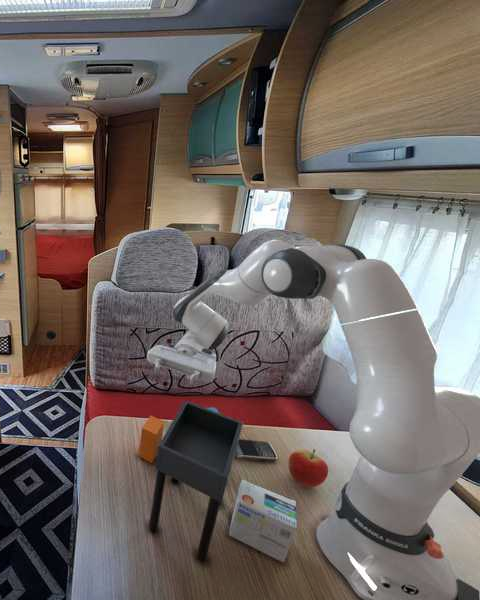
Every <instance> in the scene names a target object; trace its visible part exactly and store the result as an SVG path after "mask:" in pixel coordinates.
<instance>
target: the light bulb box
mask: <svg viewBox="0 0 480 600" xmlns="http://www.w3.org/2000/svg"><path fill="white" fill-rule="evenodd" d="M237 491H238V492H237V496H236V498H235V499H236V500H235V504H234V507H233V511H232V516H231V522H230V528H229V531H228V532H229V533H228V536H229V537H231V538H234V539H235V540H237V541H240V542H241V543H244V544H245V545H247V546H250V547H251V548H253V549H255V550H258V551H259V552H261V553H263V554H265V555H267V556H269V557H271V558H273V559H275V560H277V561H279V562H281V563H282V564H283V563H285V562H286V561H285V560H286V559H287V555H288V552H289V549H290V547H291V545H292V542H293V539H294V536H295V534H296V531H297V527H298V526H297V524H298V523H297V501H296V500H294V499H293V498H289V497H286V496H284V495H281V494H279V493H276V492H275V491H274V492H273V491H271V490H269V489H266V488H264V487H261V486H259V485H257V484H254V483H253V482H250V481H247V480H245V479H242V478H241V480H240V484H239V488H238V490H237Z"/></svg>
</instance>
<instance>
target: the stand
mask: <svg viewBox="0 0 480 600" xmlns="http://www.w3.org/2000/svg"><path fill="white" fill-rule="evenodd" d="M166 476H167V475H166V474H164V473H162V472H160V471H158V470H156V477H155V483H154V489H153V490H154V491H153V496H152V505H151V511H150V518H149V525H148V530H150V531H151V532H152V533H156V532H157V531H158V530H159V529H158V528H159V521H160V516H161V509H162V503H163V496H164V491H165V483H166V478H167V477H166ZM170 478H171V479H170V481H171V483H172V484H174V485H177V484H179V482H180V481H178V480H176V479H174V478H172V477H170ZM226 488H227V487H226ZM226 488H225V490H226ZM224 496H225V494H224V495H223V497H224ZM223 501H224V498H223V499H222V502H219V501H217V500H215V499H213V498H211V497H209V501H208V504H207V509H206V513H205V517H204V523H203V526H202V531H201V535H200V539H199V544H198V549H197V553H196V558H197V560H198V561H199V562H200V563H205V562H206V561H207V558H208V554H209V549H210V545H211V542H212V538H213V533H214V530H215V525H216V521H217V517H218V515H219V514H218V513H219V509H220V507H221V506H222V504H223Z"/></svg>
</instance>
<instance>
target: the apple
mask: <svg viewBox="0 0 480 600" xmlns="http://www.w3.org/2000/svg"><path fill="white" fill-rule="evenodd" d="M312 450H313V452H312V451H309V450H307V449H306V450H305V449H296V450H294V451H292V453H290V456H289V459H288V471H289V474H290V476H291V477H292V479H293V480H294V482H296V483H297V484H299V485H301V486H303V487H306V488H315V487H318V486H320V485H321V484H324V482H325V481H326V480H327V478H328V475H329V466H328V464H327V462H326V461H325V460H324V459H323V458H321V457H320V456H318V455H317V454H315V452H316V450H315V448H313V449H312Z"/></svg>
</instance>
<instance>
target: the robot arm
mask: <svg viewBox="0 0 480 600" xmlns="http://www.w3.org/2000/svg"><path fill="white" fill-rule="evenodd" d="M213 295H214V296H217V297H218V296H219V297H222V298H225V299H227V300H230V301H232V302H234V303H236V304H241V305H246V306H253V305H259V304H261V303H263V302H265V301H267V300H268V299H269V298H271V297H272V296H275V297H278V298H284V299H289V300H290V299H292V300H299V299H300V300H313V299H315V298H316V297H317V298H318V297H322V298H324V299H326V300H328V301H329V302H330V304H331V305H332V306H333V308H334V310H335V313H336V316H337V318H338V321H339V325H340V327H341V329H342V332H343V335H344V339H345V340H346V343H347V346H348V349H349V351H350V355H351V357H352V361H353V365H354V371H355V376H356V377H355V378H356V406H355V407H356V408H355V412H354V415H353V416H352V419H351V420H350V423H349V429H348V430H349V437H350V441H351V442H352V444H353V446H354V447H355V450H356V451H357V452H358V453H359V454H360V456H359V458H358V460H357V463H356V464H355V467H354V469H353V472H352V473H351V476H350V478H349V481H347V482H346V483H345V484H344V485H343V487H342V489H341V490H340V491H339V494H338V496H337V497H336V500H335V506H334V509H333V510H332V512H330V514H329V515H328V516H327V517H326V518H325V519H324V520H322V521H321V522H320V523H318V524H317V527H316V539H317V542H318V545H319V547H320V549H321V551H322V552H323V554H324V555H325V557H326V558H327V560H328V561H329V562H330V563H331V564H332V566H334V567H335V569H336V570H337V571H338V572H339V573H340V574H341V575H342V576H343V577H344V578H345V579H346V580H347V582H348V584H349V585H350V587H351V588H352V590H353V591H354V593H355V594H356V595H357V596H358V597H359V598H360V599H362V600H480V590H479V589H477V588H475V587H474V586H472V585H470V584H469V583H468V582H467V583H466V582H465V581H464V580H462V579H460V578H457V577H456V574H455V572H454V570H453V567H452V565H451V563H450V561H449V559H448V558H447V556H446V554H445V552H443V551H442V549H441V548H442V546H441V545H440V544H439V542H436V541H434V538H435V533H434V530H433V528H432V527H431V526H430V525H429V521H428V520H429V518H430V516H431V515H432V513H433V511H434V510H435V508H436V506H437V504H438V503H439V502H440V500H441V499H442V498H443V497H444V496H445V495H446V493H447V492H448V491H449V490H450V489H451V488H452V487H453V486H454V485H455V483H456V482H457V481H458V480H459V479H460V478H461V477H462V476H463V474H464V473H465V472H466V471H467V469H468V468H469V467H470V466H471V465H472V463H473V462H474V461H475V460H476V458H477V457H478V456H479V454H480V397H479V396H477V395H476V394H474V393H473V392H472V393H471V392H470V391H467V390H464V389H461V388H456V387H446V386H445V387H442V386H441V387H439V386H437V387H436V385H435V368H436V367H435V366H436V363H437V360H438V350H437V349H436V345H435V344H434V342H433V339H432V337H431V335H430V333H429V330H428V328H427V326H426V323H425V321H424V320H423V317H422V315H421V313H420V310H419V309H418V306H417V303H416V301H415V299H414V298H413V295H412V294H411V292H410V290H409V289H408V287H407V286H406V283H404V281H403V279H402V278H401V277H400V275H399V274H398V273H397V271H396V270H395V268H394V267H393V266H392V265H391V264H390V263H388V262H387V261H385V260H382V259H378V258H367V257H366V255H365V254H364V253H363V252H362V251H361V250H360V249H358V248H356V247H354V246H351V245H345V244H339V243H337V244H336V243H335V244H320V245H319V244H309V245H303V246H302V245H301V246H298V247H295V246H293V245H291V244H290V243H288V242H286V241H284V240H282V239H281V240H280V239H272V240H271V239H270V240H268V241H266V242H264V243H262V244H260V245H259V246H258V247H257V248H256V249H254V250H253V251H252V252H251V253H250V254H248V256H247V257H246V258H244V260H243V261H242V262H241V263H240V264H239V265H238V266H237V267H235V268H232V269H219V271H216V272H214V273H213V274H212V275H210V276H209V277H208V278H207V279H205V280H204V281H203V282H202V283H200V284H199V285H198V286H196V287H195V288H194V289H193V290H192V291H191V292H189V293H187V294H186V295H184V296H183V297H181V298H180V299H178V300H177V302H176V303H175V304H174V306H173V309H172V315H173V318H174V320H175V321H176V322H177V323H179V324H181V325H182V326H184V327H186V328H187V329H188V330H187V331H186V332H185V333H184V334H183V335H182V337H181V339H180V340H178V342H177V343H175V345H174V346H173V347H170V346H166V345H163V344H156V345H154V346H153V347H151V348H150V349H149V350H148V351H147V354H146V355H147V356H146V360H147V362H148V363H150V364H152V365H154V369H153V370H154V371H155V372H158V373H160V372H161V371H162V368H165V369H167V370H170V371H174V372H176V373H180V374H182V375H185V376H186V378H185V379H186V380H185V382H187V383H189V384H192V383H193V382H195V381H198V380H199V381H202V382H205V383H212V382H213V381H214V379H215V374H216V368H217V354H216V353H215V352H213V350H216V349H217V348H218V347H219V346H220V345H221V344H222V343H223V342H224V340H225V339H226V337H227V336H228V334H229V332H230V323H229V321H228V320H227V319H226V318H225V317H224V316H222V315H221V314H219V313H218V312H216V311H214V310H213V309H212V308H211V307H209V306H208V305H207V304H205V303H204V302H203V301H204V300H205V299H207V297H209V296H213Z"/></svg>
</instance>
